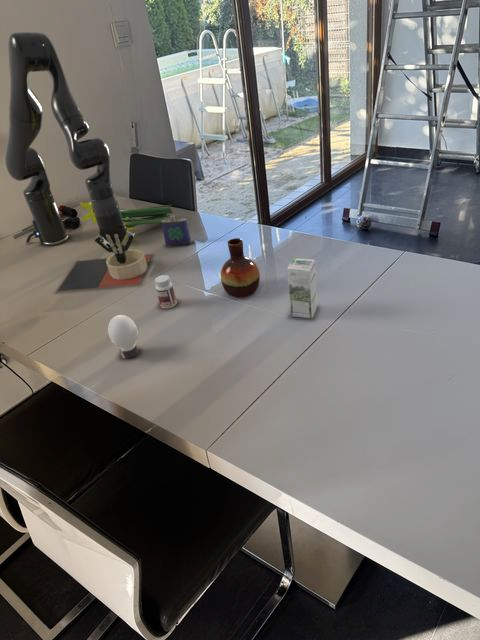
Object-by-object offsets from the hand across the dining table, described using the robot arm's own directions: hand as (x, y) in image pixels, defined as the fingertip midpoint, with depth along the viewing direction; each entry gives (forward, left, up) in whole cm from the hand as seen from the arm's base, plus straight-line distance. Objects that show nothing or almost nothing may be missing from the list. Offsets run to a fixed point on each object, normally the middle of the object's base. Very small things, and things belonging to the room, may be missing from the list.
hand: (122, 262), depth 153 cm
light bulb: (+12, -45, -3) cm, 47 cm away
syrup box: (+56, -33, -3) cm, 65 cm away
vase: (+39, -19, -3) cm, 44 cm away
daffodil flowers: (-3, +30, -3) cm, 30 cm away
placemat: (-6, 0, -3) cm, 7 cm away
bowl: (+1, -1, -3) cm, 3 cm away
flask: (+15, +17, -3) cm, 23 cm away
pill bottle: (+18, -23, -3) cm, 30 cm away
